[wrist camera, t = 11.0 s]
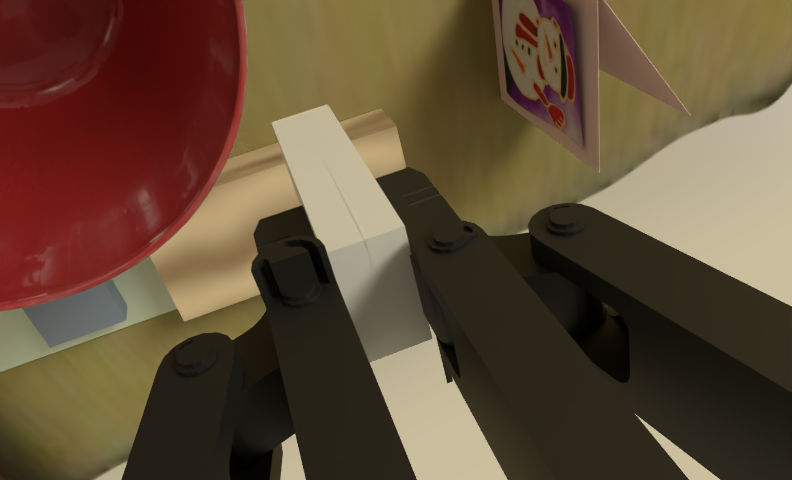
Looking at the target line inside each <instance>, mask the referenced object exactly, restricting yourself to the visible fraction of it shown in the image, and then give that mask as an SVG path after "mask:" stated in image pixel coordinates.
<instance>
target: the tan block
mask: <svg viewBox="0 0 792 480" xmlns="http://www.w3.org/2000/svg"><path fill="white" fill-rule="evenodd" d="M339 123H340V125H341V126H342V128H343V129H344V131H345V133H346V134H347V136H348V137H349V139H350V140H351V142H352V144H353V145H354V147H355V148H356V150H357V151H358V153H359V155H360V156H361V158H362V159H363V161H364V162H365V164H366V166H367V167H368V169H369V170H370V172H371V174H372V175H373V177H374V178H378V177H381V176H384V175H387V174H390V173H393V172H396V171H399V170H402V169H405V168H406V164H405V160H404V156H403V152H402V147H401V143H400V139H399V135H398V131H397V126H396V125H395V124H394V122H393V121H392V120H391V119H390V118H389V116H388V115H387V114H386V113H385V112H384V110H383V109H382V108H380V109H377V110H374V111H371V112H368V113H365V114H362V115H359V116H356V117H353V118H350V119H347V120H344V121H341V122H339ZM298 206H300V204H299V201H298V198H297V195H296V192H295V189H294V187H293V184H292V181H291V178H290V175H289V172H288V169H287V166H286V163H285V160H284V157H283V155H282V152H281V149H280V146H279V143H275V144H272V145H269V146H266V147H263V148H260V149H257V150H254V151H251V152H248V153H245V154H242V155H239V156H236V157H233V158H230V159H227V162H226V164H225V166H224V168H223V170H222V172H221V174H220V176H219V178H218V180H217V181H216V183H215V185H214V186H213V188H212V190H211V191H210V193H209V195H208V196H207V197H206V199H205V200H204V202H203V203H202V204H201V206H200V207H199V209H198V210H197V211H196V212H195V213H194V215H193V216H192V217H191V218H190V219H189V221H188V222H187V223H186V224H185V225H184V226H183V227H182V228H181V229H180V230H179V231H178V232H177V233H176V234H175V235H174V236H173V237H172V238H171V239H170V240H168V241H167V242H166V243H165V244H164V245H163V246H161V247H160V248H159V249H158V250H157V251H156V252H154V253H153V254H151V255H150V258H151V259H152V261H153V263H154V265H155V267H156V269H157V271H158V273H159V275H160V277H161V278H162V280H163V282H164V284H165V286H166V288H167V290H168V292H169V294H170V295H171V297H172V299H173V301H174V303H175V305H176V307H177V309H178V311H179V313H180V314H181V316H182V318H183V320H184V322H185V321H188V320H190V319H193V318H196V317H199V316H201V315H204V314H207V313H210V312H213V311H215V310H218V309H221V308H224V307H226V306H229V305H232V304H235V303H237V302H240V301H243V300H246V299H249V298H251V297H254V296H257V295H260V292H259V289H258V287H257V284H256V282H255V280H254V277H253V275H252V273H251V266H252V262H253V260H254V259H255V257H256V256H257V255H258V252H257V248H256V244H255V239H254V235H253V234H254V231H255V229H256V227H257V224H258V222H259V220H260V219H263V218H266V217H269V216H272V215H275V214H278V213H281V212H283V211H286V210H289V209H292V208H295V207H298Z"/></svg>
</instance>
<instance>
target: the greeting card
mask: <svg viewBox="0 0 792 480" xmlns="http://www.w3.org/2000/svg"><path fill="white" fill-rule="evenodd" d="M492 10H493V20H494V31H495V41H496V51H497V62H498V72H499V82H500V93H501V100H503V101H504V102H505V103H506V104H508V105H509V106H510V107H512V108H513V109H514V110H516V111H517V112H518V113H520V114H521V115H522V116H524V117H525V118H526V119H528V120H529V121H530V122H532V123H533V124H534V125H536V126H537V127H538V128H540V129H541V130H542V131H544V132H545V133H546V134H548V135H549V136H550V137H551V138H553V139H554V140H555V141H557V142H558V143H559V144H561V145H562V146H563V147H565V148H566V149H567V150H569V151H570V152H571V153H573V154H574V155H575V156H577V157H578V158H579V159H581V160H582V161H583V162H585V163H586V164H587V165H589V166H590V167H591V168H592V169H594V170H595V171H596V172H598V173H599V174H600V140H599V69H601V70H602V71H604V72H606V73H608V74H610V75H612V76H614V77H616V78H618V79H620V80H622V81H624V82H626V83H628V84H630V85H632V86H633V87H635V88H637V89H639V90H641V91H643V92H645V93H647V94H649V95H651V96H653V97H655V98H657V99H659V100H661V101H663V102H664V103H666V104H668V105H670V106H672V107H674V108H676V109H678V110H680V111H682V112H684V113H686V114H688V115H690V113H689V112H688V111H687V109H686V108H685V107H684V105H683V104H682V103H681V101H680V100H679V99H678V97H677V96H676V95H675V93H674V92H673V91H672V89H671V88H670V87H669V85H668V84H667V83H666V81H665V80H664V79H663V77H662V76H661V75H660V73H659V72H658V71H657V69H656V68H655V67H654V65H653V64H652V63H651V61H650V60H649V59H648V57H647V56H646V55H645V53H644V52H643V51H642V49H641V48H640V47H639V45H638V44H637V43H636V41H635V40H634V39H633V37H632V36H631V35H630V33H629V32H628V31H627V29H626V28H625V27H624V25H623V24H622V23H621V21H620V20H619V19H618V17H617V16H616V15H615V13H614V12H613V11H612V9H611V8H610V7H609V5H608V4H607V3H606V1H605V0H492ZM690 116H691V115H690Z"/></svg>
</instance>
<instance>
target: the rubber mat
mask: <svg viewBox="0 0 792 480" xmlns="http://www.w3.org/2000/svg"><path fill="white" fill-rule="evenodd" d="M112 280H113V282H114V284H115V285H116V287H117V289H118V291H119V292H120V294H121V296H122V297H123V299H124V301H125V302H126V304H127V319H126V321H123V322H120V323H117V324H115V325H112V326H109V327H106V328H104V329H101V330H98V331H95V332H93V333H90V334H87V335H84V336H82V337H79V338H76V339H73V340H70V341H68V342H65V343H62V344H59V345H57V346H54V347H51V348H50V347H49V346H48V344H47V343H46V341H45V340H44V339H43V337H42V336H41V334H40V333H39V332H38V330H37V329H36V327H35V326H34V325H33V323H32V322H31V320H30V319H29V318H28V316H27V315H26V313H25V312H24V310H23V309H22V308H19V309H14V310H8V311H0V372H2V371H5V370H7V369H10V368H13V367H16V366H18V365H21V364H24V363H27V362H30V361H32V360H35V359H38V358H41V357H44V356H46V355H49V354H52V353H55V352H58V351H60V350H63V349H66V348H69V347H72V346H74V345H77V344H80V343H83V342H86V341H88V340H91V339H94V338H97V337H100V336H102V335H105V334H108V333H111V332H114V331H116V330H119V329H122V328H125V327H128V326H130V325H133V324H136V323H139V322H142V321H144V320H147V319H150V318H153V317H156V316H158V315H161V314H164V313H167V312H170V311H172V310H175V309H177V307H176V305H175V303H174V301H173V299H172V297H171V295H170V294H169V292H168V290H167V288H166V286H165V284H164V282H163V280H162V278H161V277H160V275H159V273H158V271H157V269H156V267H155V265H154V263H153V261H152V259H151V258H150V256H149V257H147V258H146V259H144V260H143V261H141V262H140V263H138V264H137V265H135V266H134V267H132V268H130V269H128V270H127V271H125V272H123V273H121V274H120V275H118V276H116V277H114V278H112Z"/></svg>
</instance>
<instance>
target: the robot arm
mask: <svg viewBox="0 0 792 480" xmlns="http://www.w3.org/2000/svg"><path fill="white" fill-rule="evenodd" d="M271 123H272V126H273V128H274V131H275V134H276V137H277V140H278V143H279V146H280V149H281V152H282V155H283V157H284V160H285V163H286V166H287V169H288V172H289V175H290V178H291V181H292V184H293V187H294V189H295V192H296V195H297V198H298V201H299V204H300V206H298V207H295V208H292V209H289V210H286V211H283V212H281V213H278V214H275V215H272V216H269V217H266V218H263V219H260V220H259V222H258V224H257V227H256V229H255V231H254V234H253V235H254V239H255V244H256V248H257V252H258V255H257V256H256V257H255V259H254V260H253V262H252V266H251V273H252V275H253V277H254V280H255V282H256V284H257V287H258V289H259V292H260V294H261V296H262V299H263V301H264V303H265V306H266V312H265V313H264V315H263V316H262V318H261V319H260V320H259V321H258V322H257V323H256V324H255V325H254V326H253V327H252V328H251V329H249V330H248V331H247V332H245V333H244V334H242V335H240V336H239V337H237V338H236V339H234V340H231V339H230V338H229V337H228V336H227V335H224V334H220V333H217V332H215V333H203V334H200V335H197V336H194V337H191V338H188V339H187V340H185V341H183V342H182V343H180V344H178V345H177V346H175V347H174V348H173V349H172V350H171V351H170V352H169V353H168V354H167V355H166V356H165V357H164V358H163V360H162V362H161V364H160V366H159V367H158V370H157V373H156V376H155V379H154V382H153V385H152V388H151V391H150V395H149V398H148V401H147V404H146V407H145V410H144V413H143V416H142V419H141V422H140V425H139V428H138V431H137V434H136V437H135V440H134V443H133V446H132V449H131V453H130V456H129V459H128V462H127V465H126V468H125V471H124V474H123V477H122V480H280V476H281V466H282V456H283V451H282V444H281V443H282V442H283V441H285V440H286V439H288V438H289V437H290V436H292V435H293V434H296V439H297V443H298V447H299V451H300V456H301V460H302V465H303V469H304V473H305V477H306V480H417V479H416V476H415V474H414V472H413V470H412V467H411V464H410V462H409V459H408V457H407V454H406V452H405V449H404V447H403V444H402V442H401V439H400V437H399V435H398V432H397V430H396V427H395V425H394V422H393V420H392V417H391V415H390V412H389V410H388V407H387V405H386V403H385V400H384V397H383V395H382V392H381V390H380V388H379V385H378V383H377V380H376V378H375V375H374V373H373V370H372V368H371V366H370V363H369V362H372V361H375V360H377V359H380V358H382V357H385V356H388V355H390V354H393V353H396V352H398V351H400V350H404V349H406V348H409V347H412V346H414V345H417V344H419V343H422V342H424V341H427V340H430V339H432V335H431V331H430V327H429V324H430V325H431V327H432V329H433V331H434V333H435V335H436V337H437V341H438V346H439V350H440V354H441V358H442V362H443V367H444V370H445V375H446V379H447V383H449V382H452V381H453V380H452V377H453V379H454V381H455V383H456V385H457V386H458V388H459V390H460V392H461V394H462V396H463V398H464V399H465V401H466V403H467V405H468V407H469V409H470V411H471V412H472V414H473V416H474V418H475V420H476V422H477V423H478V425H479V427H480V429H481V431H482V432H483V435H484V436H485V438H486V440H487V442H488V444H489V446H490V448H491V449H492V451H493V453H494V455H495V457H496V459H497V461H498V462H499V464H500V466H501V468H502V470H503V472H504V474H505V475H506V477H507V479H508V480H689V479H688V478H687V477H686V476H685V474H684V473H683V472H682V471H681V469H680V468H679V467H678V466H677V465H676V463H675V462H674V461H673V460H672V459H671V457H670V456H669V455H668V454H667V453H666V451H665V450H664V449H663V448H662V447H661V445H660V444H659V443H658V442H657V440H656V439H655V438H654V437H653V436H652V434H651V433H650V432H649V431H648V429H647V428H646V427H645V426H644V425H643V423H642V422H641V421H640V420H639V419H638V417H637V416H639V417H640V418H641V419H643V420H644V421H645V422H647V423H648V424H649V425H650V426H652V427H653V428H654V429H656V430H657V431H658V432H659V433H661V434H662V435H663V436H665V437H666V438H667V439H669V440H670V441H671V442H672V443H674V444H675V445H676V446H678V447H679V448H680V449H682V450H683V451H684V452H685V453H687V454H688V455H689V456H691V457H692V458H693V459H695V460H696V461H697V462H698V463H700V464H701V465H702V466H704V467H705V468H706V469H707V470H709V471H710V472H711V473H713V474H714V475H715V476H717V477H718V478H719V479H720V480H792V306H790V305H788V304H785V303H783V302H781V301H779V300H777V299H775V298H773V297H771V296H769V295H767V294H765V293H763V292H761V291H759V290H757V289H755V288H753V287H751V286H749V285H747V284H745V283H743V282H741V281H739V280H737V279H735V278H733V277H731V276H729V275H727V274H725V273H723V272H721V271H719V270H717V269H715V268H713V267H711V266H709V265H707V264H705V263H703V262H701V261H699V260H697V259H695V258H693V257H691V256H689V255H687V254H685V253H683V252H681V251H679V250H677V249H675V248H673V247H671V246H668V245H667V244H665V243H663V242H661V241H659V240H657V239H654V238H653V237H651V236H649V235H647V234H645V233H643V232H641V231H639V230H637V229H635V228H632V227H630V226H629V225H627V224H625V223H622V222H621V221H619V220H617V219H614V218H612V217H610V216H608V215H606V214H604V213H602V212H600V211H598V210H596V209H594V208H592V207H589V206H585V205H583V204H573V203H564V204H557V205H552V206H550V207H547V208H544V209H542V210H540V211H539V212H537V213H536V214H535V215H534V216H532V218H531V220H530V222H529V224H528V228H529V233H523V234H516V235H509V236H488V235H487V234H486V233H485V232H484V230H483V229H482V228H480V227H479V226H477V225H476V224H474V223H470V222H466V221H461V219H460V218H459V217H458V216H457V214H456V213H455V212H454V211H453V209H452V208H451V207H450V206H449V204H448V203H447V202H446V201H445V199H444V198H443V197H442V196H441V195H440V193H439V192H438V190H437V189H436V188H435V187H433V184H432V183H431V182H430V180H429V179H428V178H427V177H426V175H425V174H424V173H421V172H419V171H416V170H414V169H411V168H409V167H408V168H405V169H402V170H399V171H396V172H393V173H390V174H387V175H384V176H381V177H378V178H374V177H373V175H372V174H371V172H370V170H369V169H368V167H367V166H366V164H365V162H364V161H363V159H362V158H361V156H360V155H359V153H358V151H357V150H356V148H355V147H354V145H353V144H352V142H351V140H350V139H349V137H348V136H347V134H346V133H345V131H344V129H343V128H342V126H341V125H340V123H339V122H338V120H337V118H336V117H335V115H334V114H333V112H332V111H331V109H330V107H329V106H328V104H327V105H324V106H321V107H318V108H314V109H311V110H308V111H305V112H302V113H299V114H296V115H293V116H290V117H286V118H283V119H280V120H277V121H274V122H271ZM428 322H429V323H428ZM634 413H635V414H636V415H637V416H636V415H635V414H634Z"/></svg>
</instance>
